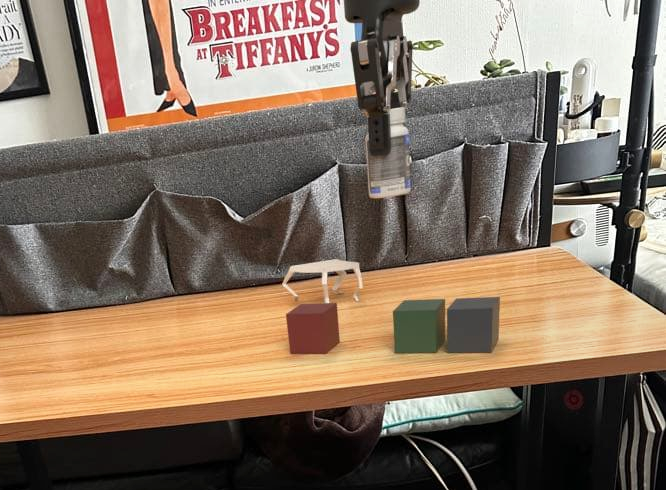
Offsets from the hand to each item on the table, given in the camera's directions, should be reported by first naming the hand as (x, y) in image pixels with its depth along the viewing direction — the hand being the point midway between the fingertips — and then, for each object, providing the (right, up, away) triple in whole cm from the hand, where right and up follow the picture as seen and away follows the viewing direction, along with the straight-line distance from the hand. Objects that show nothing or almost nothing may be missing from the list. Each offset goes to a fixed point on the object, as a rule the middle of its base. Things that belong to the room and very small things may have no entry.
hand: (388, 151), depth 79 cm
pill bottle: (+1, -4, +2) cm, 5 cm away
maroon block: (-8, -21, +2) cm, 23 cm away
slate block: (+8, -23, -5) cm, 25 cm away
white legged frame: (-5, -9, +23) cm, 25 cm away
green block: (+3, -22, -3) cm, 23 cm away
